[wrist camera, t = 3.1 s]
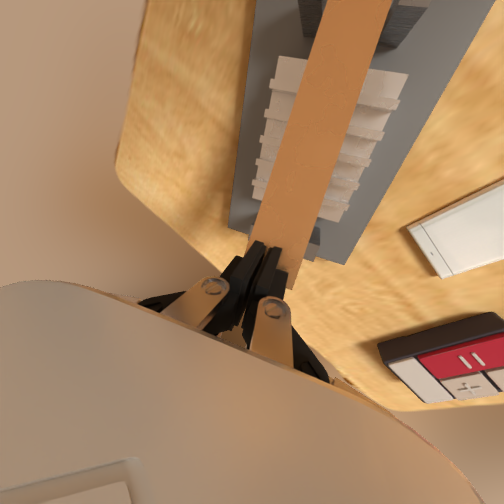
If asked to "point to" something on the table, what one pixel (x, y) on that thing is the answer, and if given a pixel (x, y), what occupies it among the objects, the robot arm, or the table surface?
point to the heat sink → (363, 119)
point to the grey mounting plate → (399, 121)
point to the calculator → (450, 359)
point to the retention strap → (317, 127)
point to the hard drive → (464, 233)
